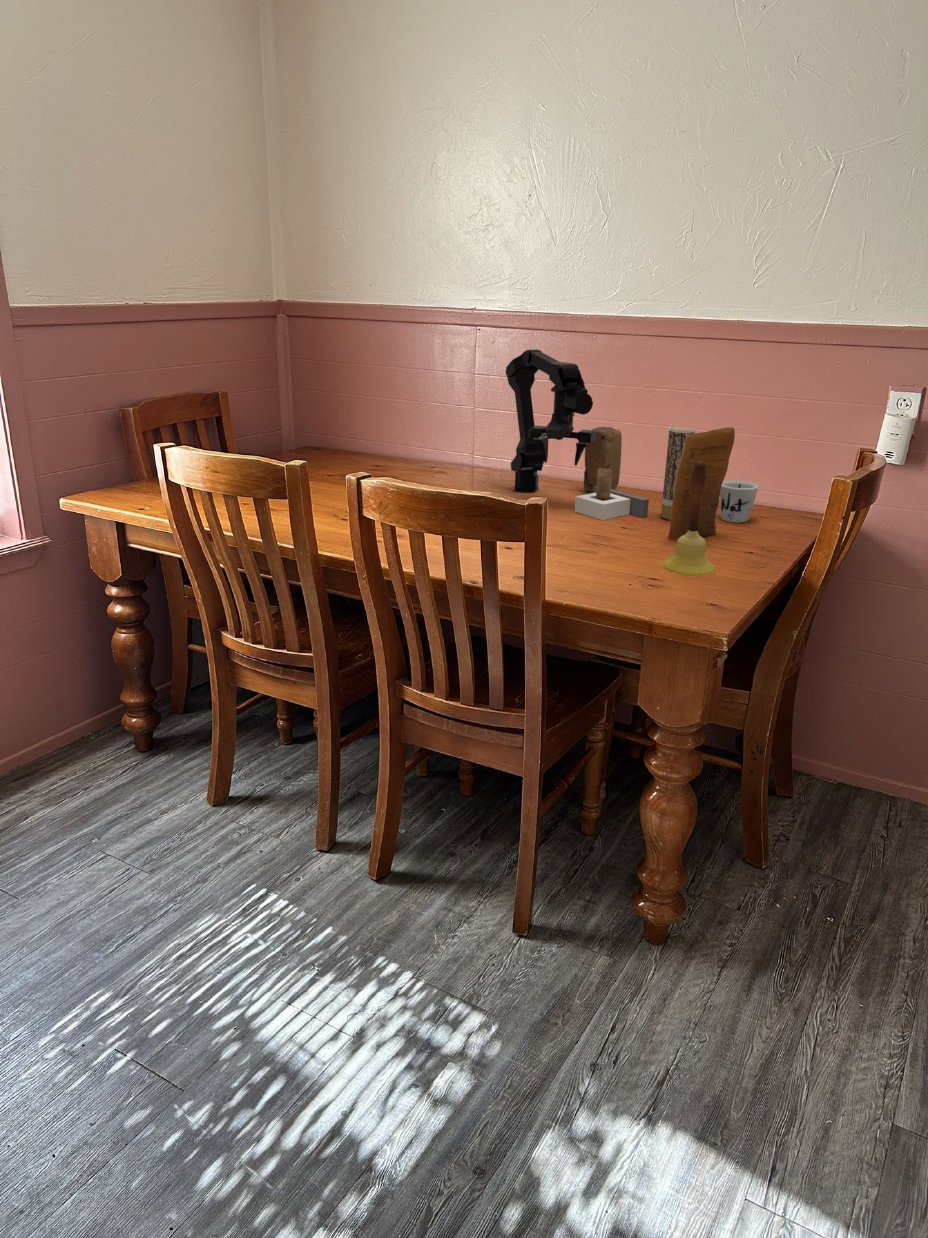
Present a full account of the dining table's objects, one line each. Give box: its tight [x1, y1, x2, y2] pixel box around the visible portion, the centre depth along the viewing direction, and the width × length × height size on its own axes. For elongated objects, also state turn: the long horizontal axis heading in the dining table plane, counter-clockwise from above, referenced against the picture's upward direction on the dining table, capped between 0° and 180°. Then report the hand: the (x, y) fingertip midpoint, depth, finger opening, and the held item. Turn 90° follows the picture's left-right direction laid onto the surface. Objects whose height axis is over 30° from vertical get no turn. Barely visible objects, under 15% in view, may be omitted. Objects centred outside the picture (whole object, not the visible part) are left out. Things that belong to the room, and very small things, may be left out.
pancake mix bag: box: [667, 427, 736, 540], centre depth 227 cm, size 7×19×28 cm, turn 118°
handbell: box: [661, 462, 716, 577], centre depth 202 cm, size 12×12×25 cm
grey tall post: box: [660, 426, 696, 521], centre depth 243 cm, size 7×7×25 cm
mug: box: [719, 480, 759, 524], centre depth 248 cm, size 10×15×10 cm
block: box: [583, 426, 623, 494], centre depth 271 cm, size 11×8×20 cm
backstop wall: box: [593, 486, 650, 518], centre depth 255 cm, size 20×2×5 cm, turn 37°
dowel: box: [596, 468, 612, 501], centre depth 250 cm, size 4×4×12 cm
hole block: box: [574, 492, 631, 521], centre depth 251 cm, size 11×11×4 cm
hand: (560, 463), depth 256 cm, fingers open, 9 cm apart
